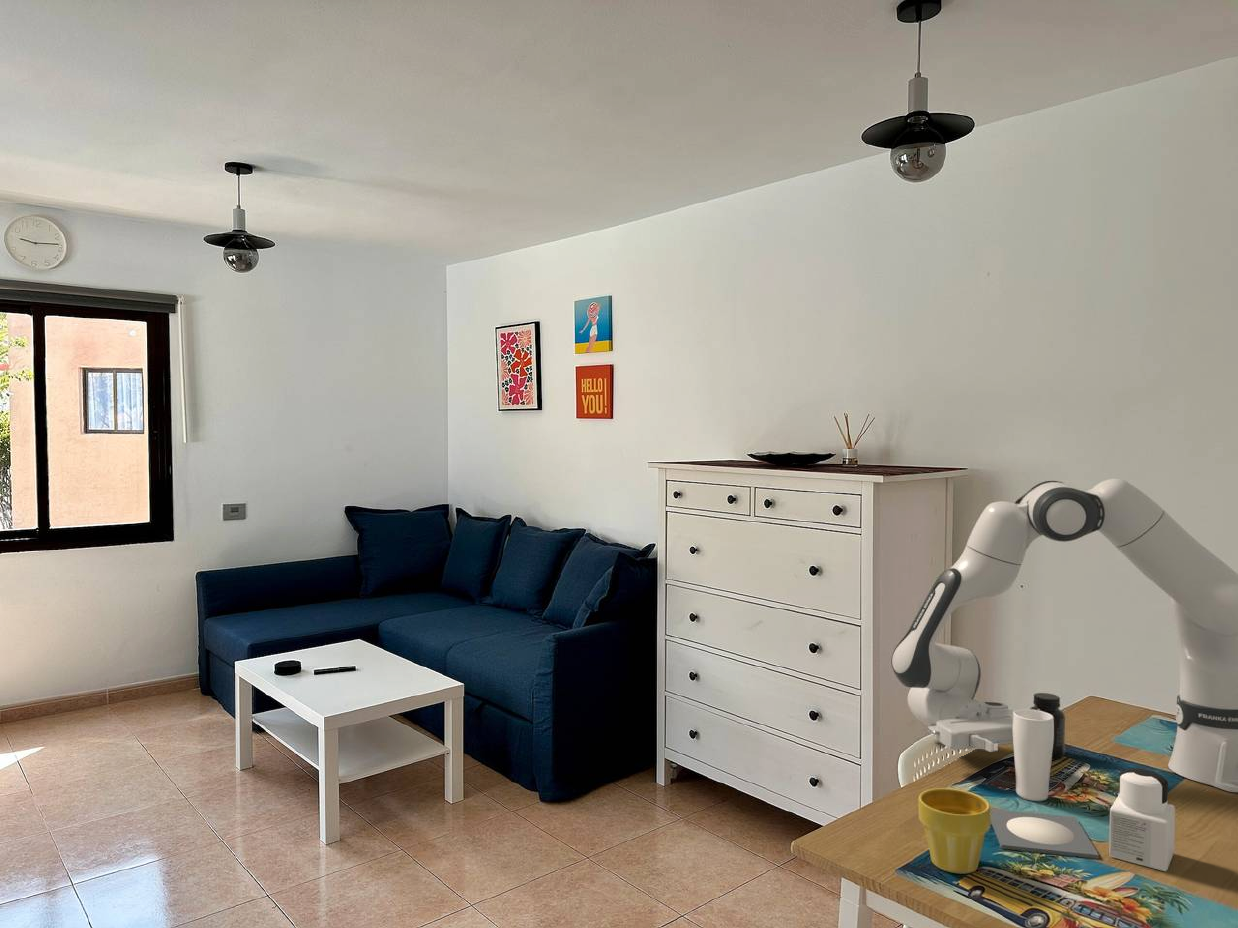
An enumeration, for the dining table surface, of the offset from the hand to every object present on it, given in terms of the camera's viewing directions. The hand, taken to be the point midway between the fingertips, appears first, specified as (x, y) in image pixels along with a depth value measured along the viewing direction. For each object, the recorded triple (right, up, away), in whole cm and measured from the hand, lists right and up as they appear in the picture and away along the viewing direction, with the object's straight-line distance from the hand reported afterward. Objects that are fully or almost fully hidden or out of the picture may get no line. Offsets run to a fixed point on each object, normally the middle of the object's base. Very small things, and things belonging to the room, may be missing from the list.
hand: (1016, 745), depth 163 cm
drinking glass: (+1, -8, -4) cm, 9 cm away
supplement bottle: (+14, -8, +17) cm, 23 cm away
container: (+8, -9, -26) cm, 29 cm away
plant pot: (-23, -9, -29) cm, 38 cm away
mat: (-5, -8, -19) cm, 21 cm away
